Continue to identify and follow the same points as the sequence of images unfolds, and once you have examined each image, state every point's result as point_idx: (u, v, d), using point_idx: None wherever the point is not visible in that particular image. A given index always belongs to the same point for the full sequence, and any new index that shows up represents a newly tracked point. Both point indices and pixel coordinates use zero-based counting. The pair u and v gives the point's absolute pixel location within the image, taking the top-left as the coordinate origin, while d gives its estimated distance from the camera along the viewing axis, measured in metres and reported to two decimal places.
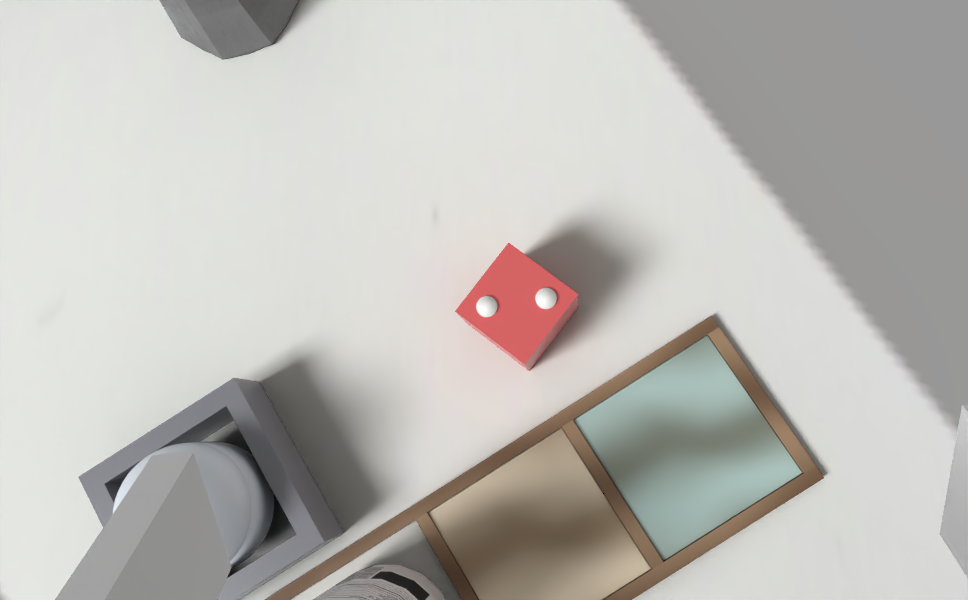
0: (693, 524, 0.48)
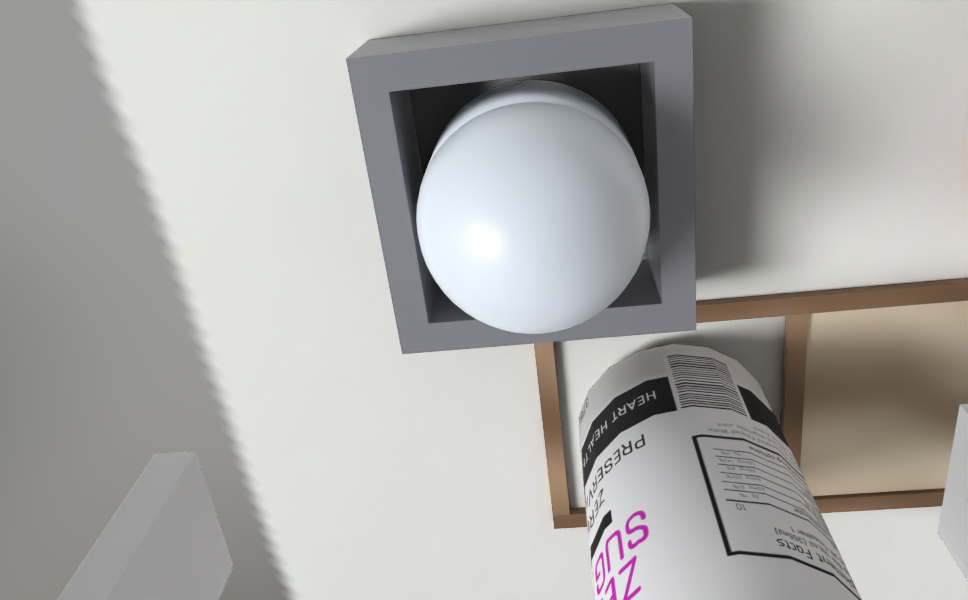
0: None
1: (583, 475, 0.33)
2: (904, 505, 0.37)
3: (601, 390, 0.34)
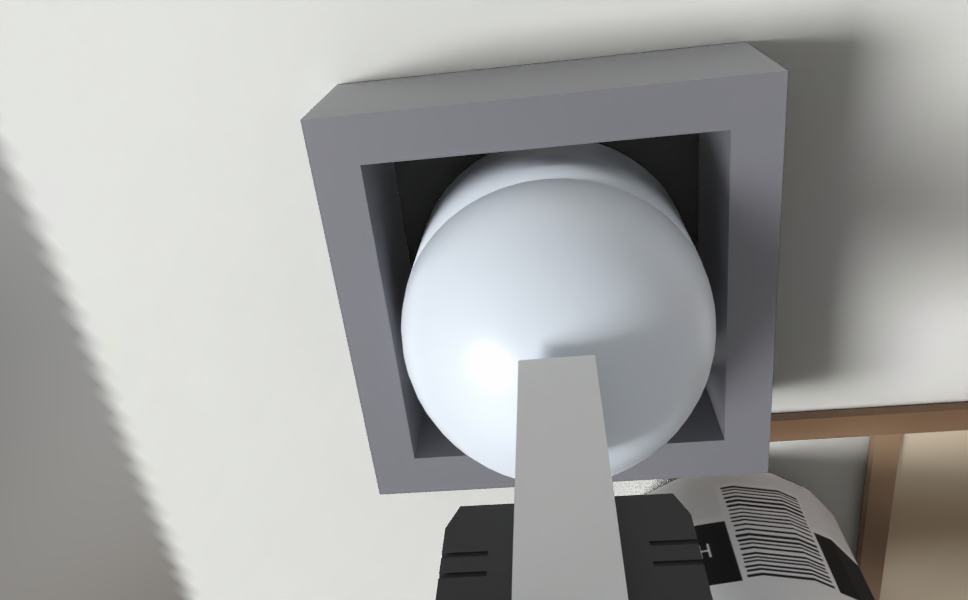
0: None
1: None
2: None
3: None
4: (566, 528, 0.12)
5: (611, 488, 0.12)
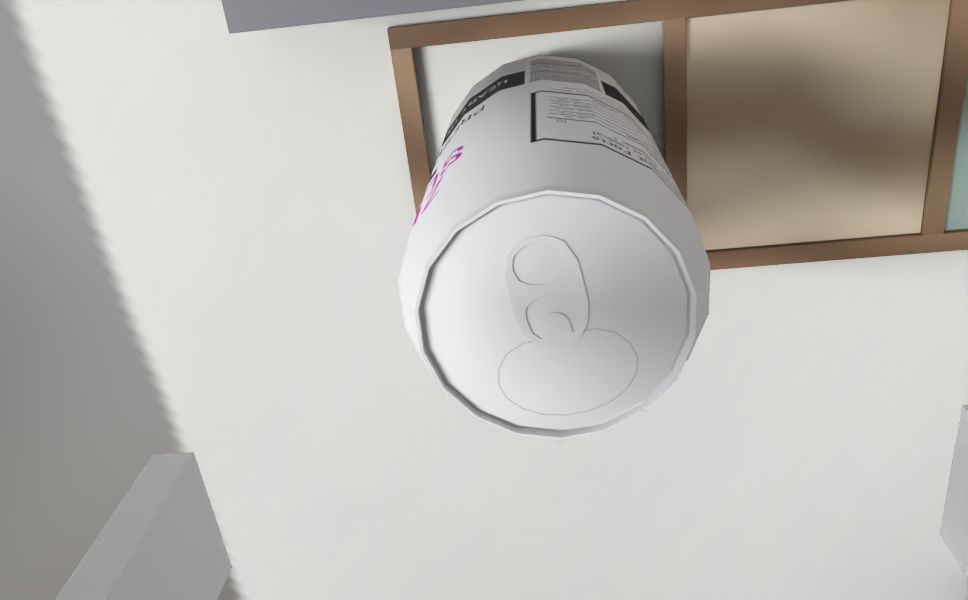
0: None
1: None
2: (799, 259, 0.35)
3: (461, 105, 0.31)
4: None
5: None
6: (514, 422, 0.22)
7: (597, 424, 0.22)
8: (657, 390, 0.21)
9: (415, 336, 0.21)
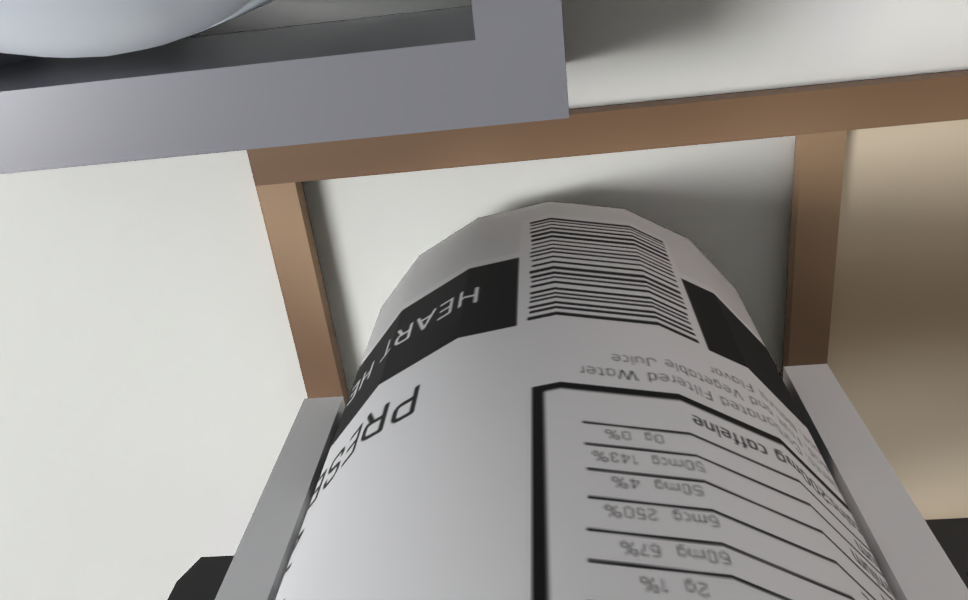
0: None
1: None
2: None
3: (393, 302, 0.16)
4: (887, 560, 0.10)
5: (918, 514, 0.11)
6: None
7: None
8: None
9: None
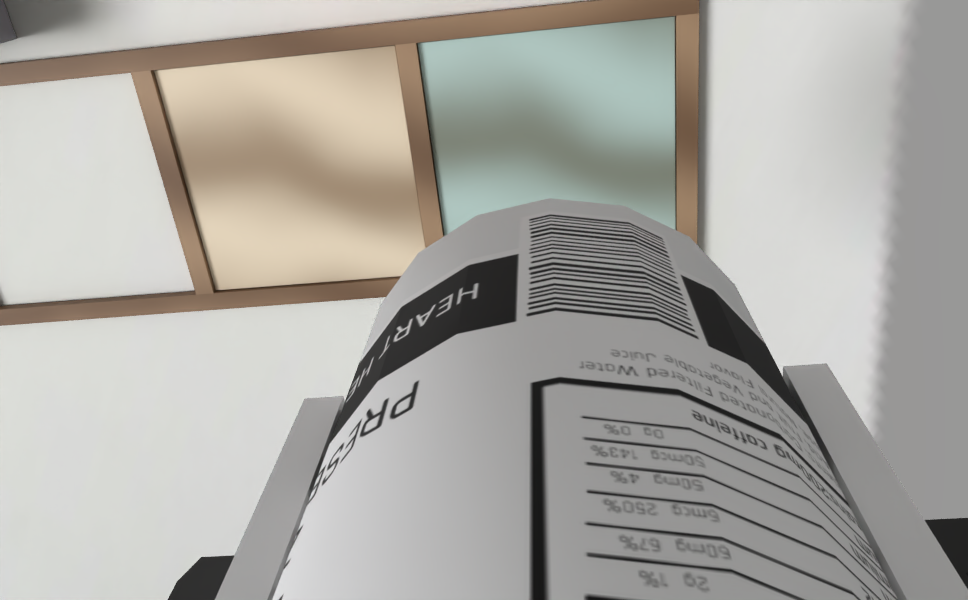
0: None
1: None
2: (320, 298, 0.36)
3: (392, 299, 0.16)
4: (887, 560, 0.10)
5: (918, 514, 0.11)
6: None
7: None
8: None
9: None
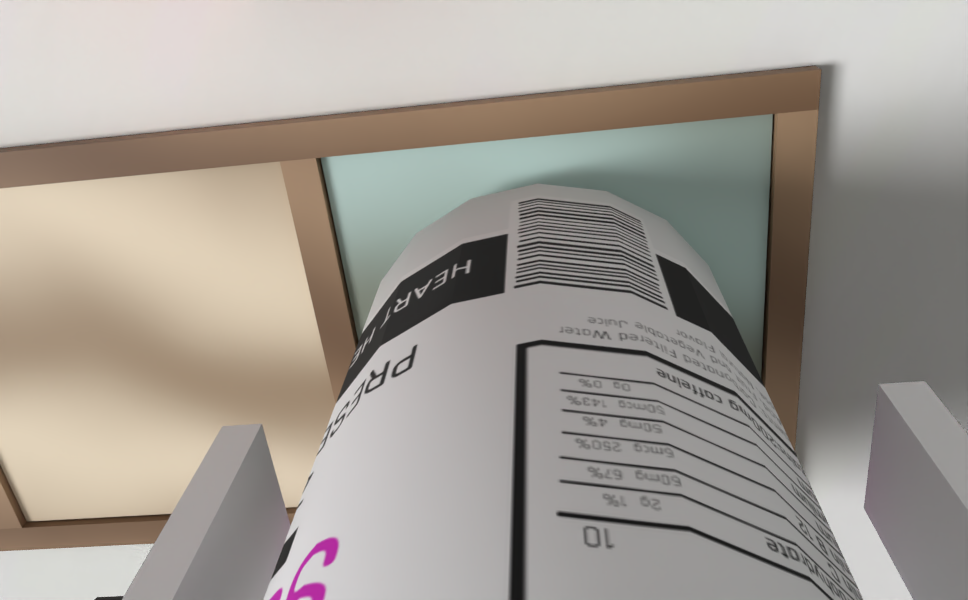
0: None
1: None
2: None
3: (392, 275, 0.17)
4: None
5: None
6: None
7: None
8: None
9: None
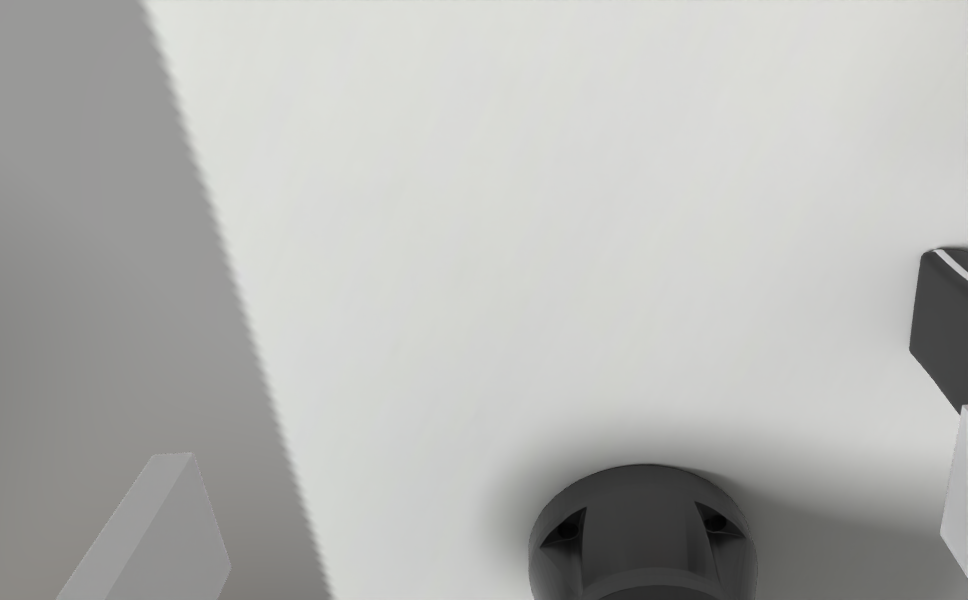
0: None
1: None
2: None
3: None
4: None
5: None
6: None
7: None
8: None
9: None
